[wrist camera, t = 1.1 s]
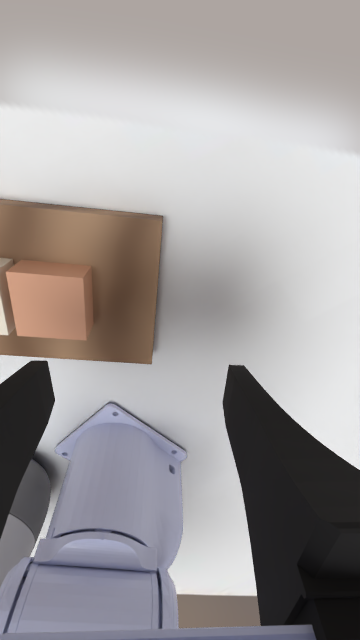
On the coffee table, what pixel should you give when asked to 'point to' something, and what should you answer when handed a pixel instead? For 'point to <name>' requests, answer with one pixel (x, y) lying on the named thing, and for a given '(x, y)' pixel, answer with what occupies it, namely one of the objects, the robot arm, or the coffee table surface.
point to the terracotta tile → (51, 299)
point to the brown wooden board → (107, 275)
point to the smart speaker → (25, 518)
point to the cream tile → (5, 299)
